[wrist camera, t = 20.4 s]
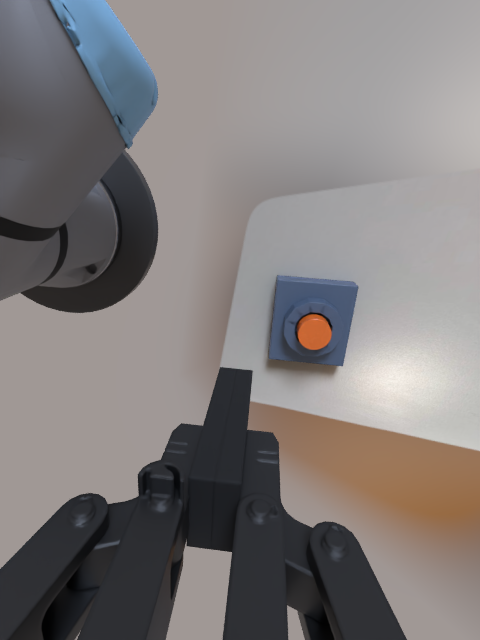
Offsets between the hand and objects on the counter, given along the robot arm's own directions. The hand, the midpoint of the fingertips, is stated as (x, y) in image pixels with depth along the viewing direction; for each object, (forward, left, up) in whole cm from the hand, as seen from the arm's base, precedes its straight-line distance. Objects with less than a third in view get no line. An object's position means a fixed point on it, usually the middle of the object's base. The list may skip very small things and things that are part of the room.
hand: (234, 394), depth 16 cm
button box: (+5, +7, -26) cm, 28 cm away
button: (+5, +7, -23) cm, 24 cm away
